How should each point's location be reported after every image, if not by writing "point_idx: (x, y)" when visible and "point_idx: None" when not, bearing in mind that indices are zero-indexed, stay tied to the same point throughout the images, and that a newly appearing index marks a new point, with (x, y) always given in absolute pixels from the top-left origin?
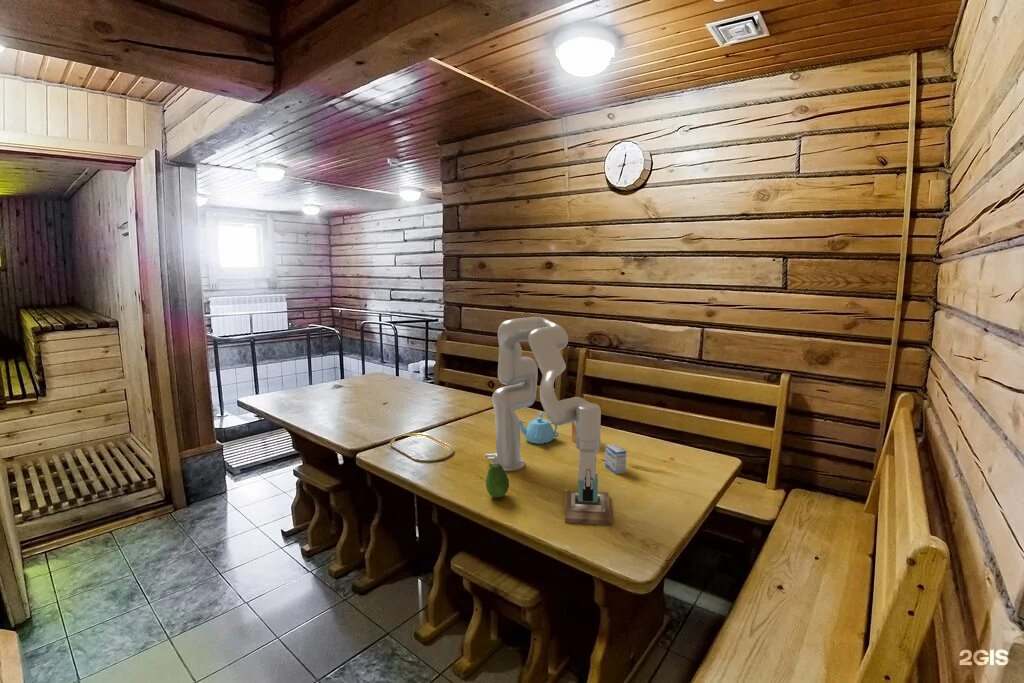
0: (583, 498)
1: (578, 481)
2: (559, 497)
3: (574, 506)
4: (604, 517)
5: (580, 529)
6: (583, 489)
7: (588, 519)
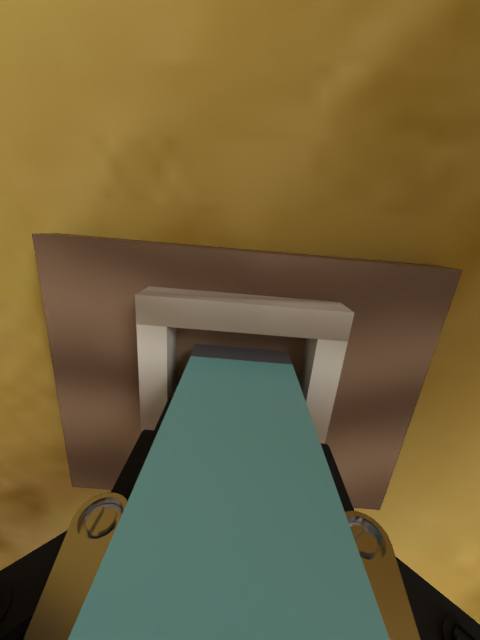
0: (166, 411)
1: (106, 551)
2: (404, 210)
3: (138, 318)
4: (97, 460)
5: (7, 321)
6: (132, 487)
7: (56, 381)
